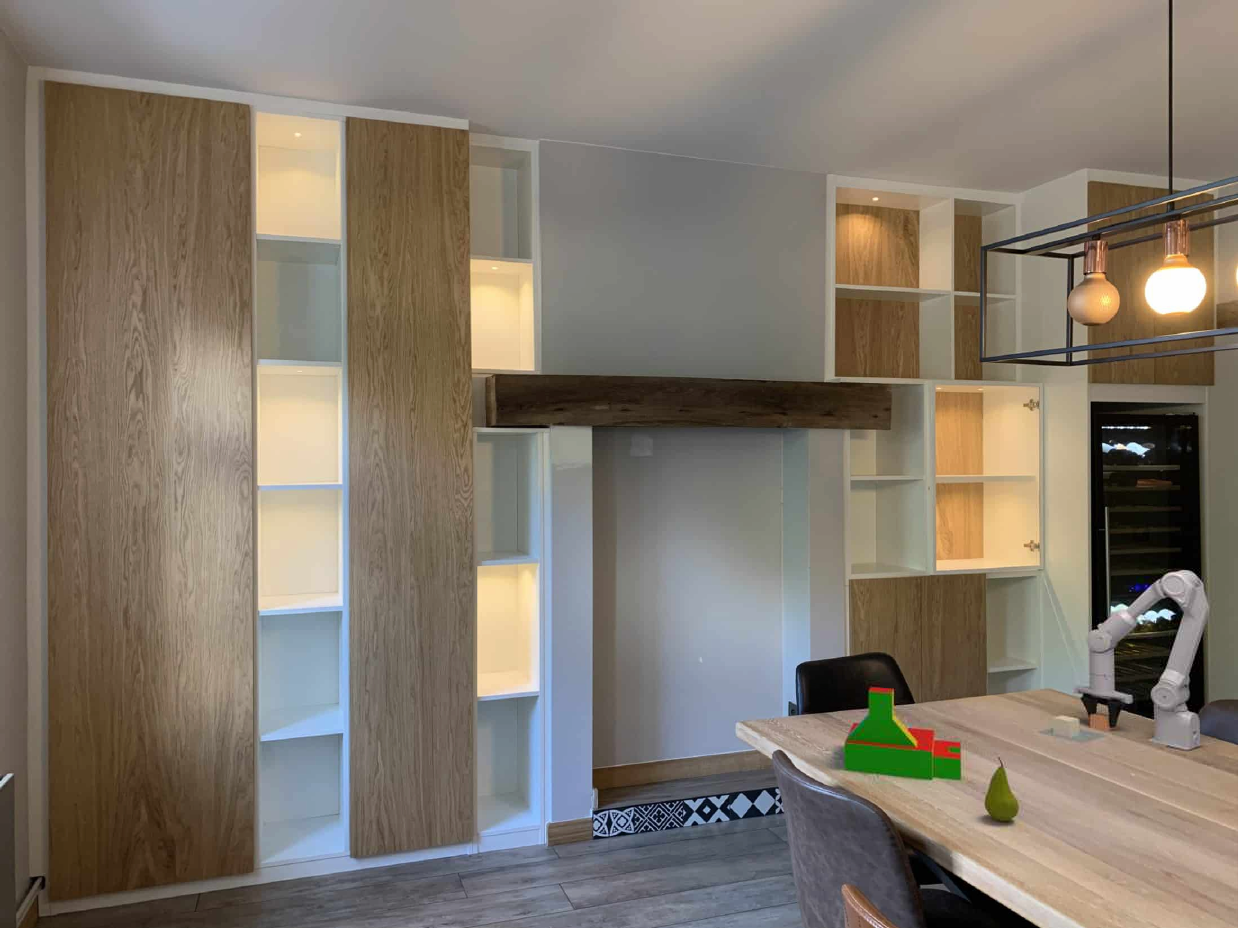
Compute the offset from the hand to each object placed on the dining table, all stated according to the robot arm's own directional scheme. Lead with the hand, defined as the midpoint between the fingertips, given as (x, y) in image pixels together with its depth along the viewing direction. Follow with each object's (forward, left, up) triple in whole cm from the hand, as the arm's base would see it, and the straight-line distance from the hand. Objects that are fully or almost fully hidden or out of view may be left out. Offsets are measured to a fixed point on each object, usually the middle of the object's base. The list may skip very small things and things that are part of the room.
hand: (1102, 725), depth 236 cm
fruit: (-21, +82, -2) cm, 85 cm away
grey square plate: (+2, +12, -1) cm, 12 cm away
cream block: (+3, +13, -1) cm, 13 cm away
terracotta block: (0, 0, -1) cm, 1 cm away
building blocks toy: (+12, +69, -2) cm, 70 cm away
